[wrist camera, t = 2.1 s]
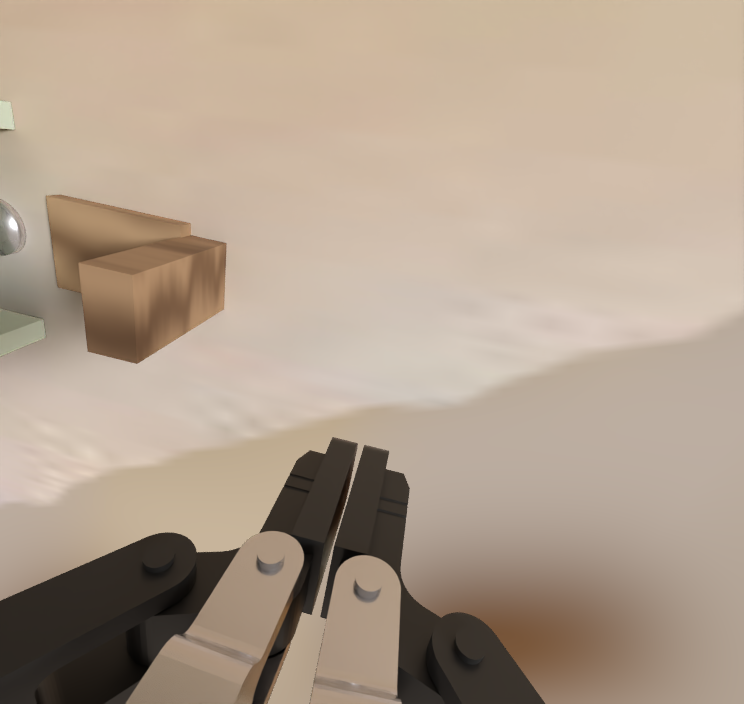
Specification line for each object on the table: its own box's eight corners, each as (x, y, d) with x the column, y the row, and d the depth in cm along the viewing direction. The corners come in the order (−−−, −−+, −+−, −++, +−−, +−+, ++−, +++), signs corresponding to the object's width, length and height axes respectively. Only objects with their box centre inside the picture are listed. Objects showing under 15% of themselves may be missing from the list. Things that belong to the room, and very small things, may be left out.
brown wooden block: (60, 194, 37) (-100, 206, 26) (226, 231, 36) (131, 258, 25) (70, 283, 41) (-68, 325, 30) (223, 319, 39) (137, 376, 29)
